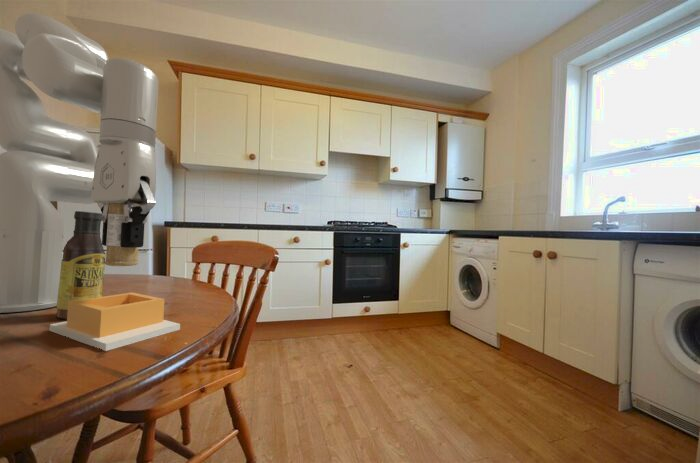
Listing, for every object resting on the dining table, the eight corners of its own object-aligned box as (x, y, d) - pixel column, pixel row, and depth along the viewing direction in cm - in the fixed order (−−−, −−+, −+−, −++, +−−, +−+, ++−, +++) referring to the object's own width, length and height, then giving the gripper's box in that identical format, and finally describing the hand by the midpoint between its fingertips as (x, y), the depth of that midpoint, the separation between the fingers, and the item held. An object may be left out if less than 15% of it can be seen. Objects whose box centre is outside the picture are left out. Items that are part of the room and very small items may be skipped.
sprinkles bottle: (139, 263, 52) (143, 188, 52) (137, 266, 48) (141, 185, 49) (106, 264, 50) (111, 185, 50) (101, 267, 46) (106, 181, 46)
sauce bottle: (73, 322, 52) (80, 210, 52) (46, 318, 53) (53, 209, 53) (110, 313, 58) (116, 213, 59) (85, 310, 59) (91, 212, 60)
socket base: (49, 330, 47) (51, 299, 47) (124, 315, 57) (126, 289, 57) (105, 351, 41) (107, 315, 41) (179, 329, 51) (181, 300, 51)
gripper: (74, 136, 49) (67, 244, 49) (135, 124, 43) (128, 249, 42) (123, 149, 56) (118, 243, 56) (183, 141, 49) (177, 248, 49)
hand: (122, 245), depth 49 cm, fingers closed on sprinkles bottle, 4 cm apart
